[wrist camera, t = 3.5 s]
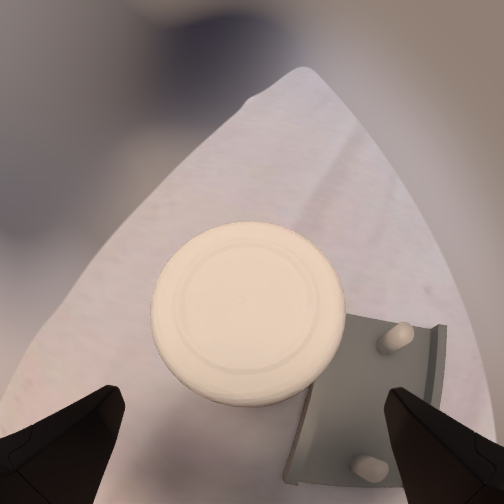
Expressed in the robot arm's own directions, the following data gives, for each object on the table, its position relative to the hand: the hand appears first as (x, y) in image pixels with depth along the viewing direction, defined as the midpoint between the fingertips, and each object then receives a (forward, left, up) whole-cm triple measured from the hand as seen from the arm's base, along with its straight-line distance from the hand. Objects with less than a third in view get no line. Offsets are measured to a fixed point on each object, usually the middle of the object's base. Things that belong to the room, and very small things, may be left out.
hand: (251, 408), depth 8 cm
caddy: (-2, -7, -10) cm, 12 cm away
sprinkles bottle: (+2, 0, -10) cm, 10 cm away
